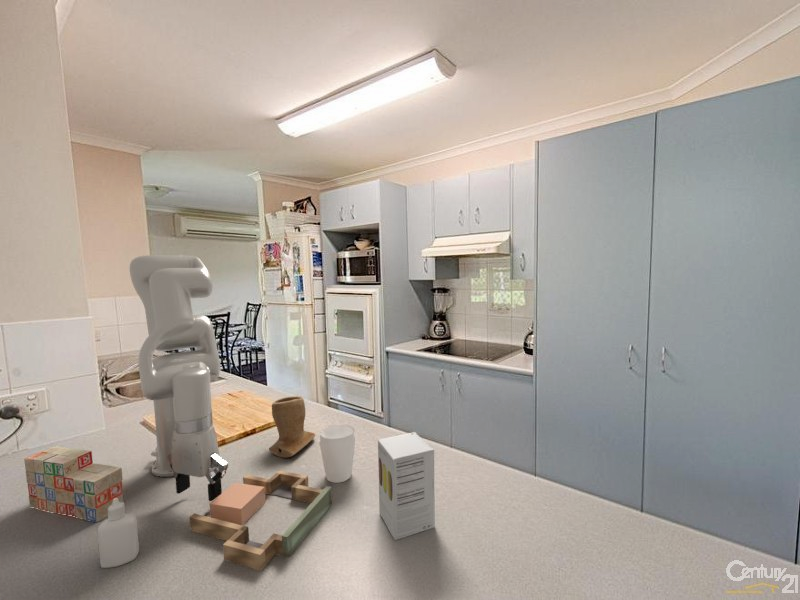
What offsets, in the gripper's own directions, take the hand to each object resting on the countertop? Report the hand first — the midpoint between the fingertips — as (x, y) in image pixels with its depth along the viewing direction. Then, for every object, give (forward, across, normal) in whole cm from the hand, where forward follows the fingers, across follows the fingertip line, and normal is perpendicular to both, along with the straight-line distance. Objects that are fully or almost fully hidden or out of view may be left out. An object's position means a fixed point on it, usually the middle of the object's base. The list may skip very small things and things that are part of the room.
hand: (199, 493), depth 84 cm
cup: (+2, +26, +19) cm, 33 cm away
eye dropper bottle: (+2, 0, -18) cm, 18 cm away
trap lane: (+2, +18, 0) cm, 18 cm away
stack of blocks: (+2, -26, -10) cm, 28 cm away
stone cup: (+2, +4, +29) cm, 29 cm away
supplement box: (+2, +48, +8) cm, 49 cm away
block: (+2, +11, 0) cm, 12 cm away
